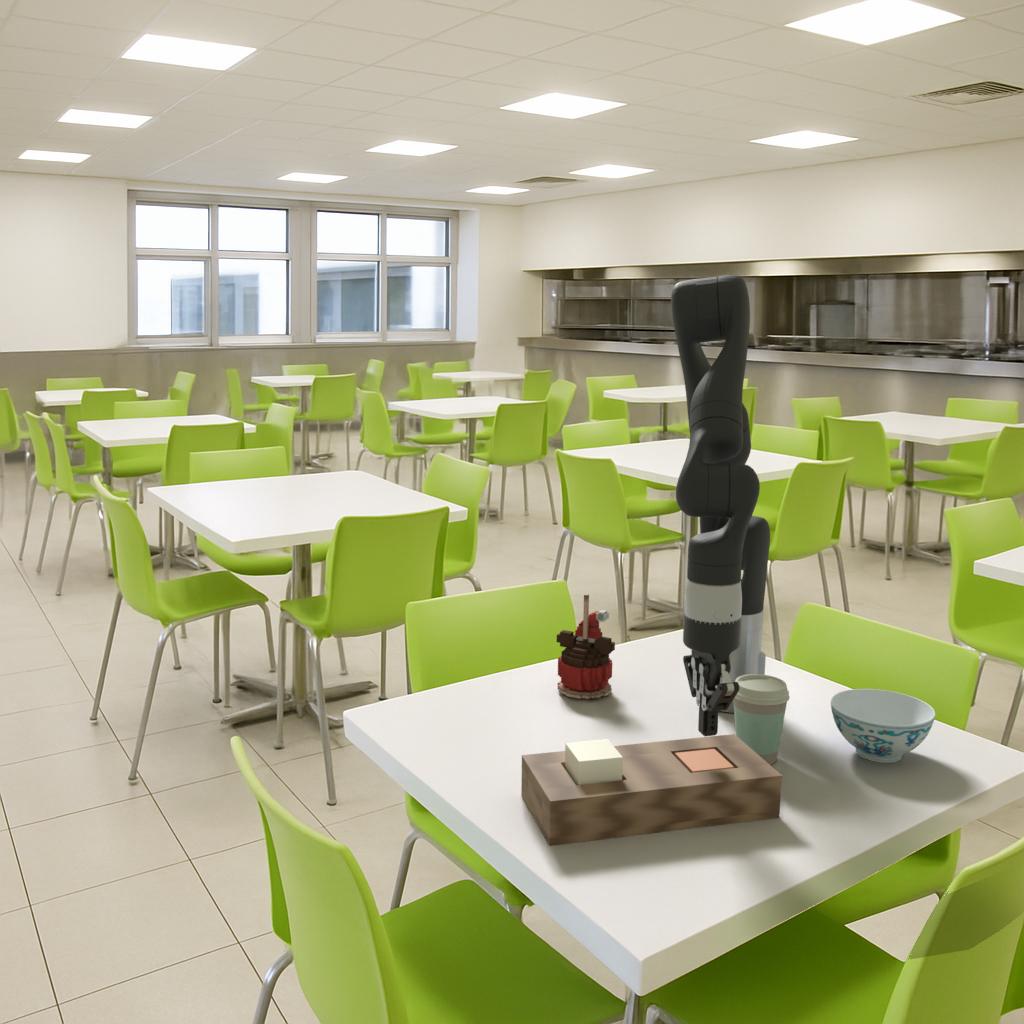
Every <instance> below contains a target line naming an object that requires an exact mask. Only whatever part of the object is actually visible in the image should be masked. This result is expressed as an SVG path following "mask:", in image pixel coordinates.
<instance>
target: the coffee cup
mask: <svg viewBox="0 0 1024 1024" xmlns="http://www.w3.org/2000/svg"><path fill="white" fill-rule="evenodd" d="M735 682H738V684H739V691H738V693H737V694H736V696H735V698H734V699H733V700H734V713H733V714H734V727H735V728H734V730H735V735H736V736H737V737H738V738H739V739H740V740H742V741H743V742H744V743H745V744H746V745H747V746H749V747H750V748H751V749H752V750H753V751H754V752H756V753H757V754H758V755H759V756H760V757H761V758H762V759H764V760H765V761H766V762H767V763H768V764H769V765H772V764H774V763H776V762H777V758H778V752H779V747H780V742H781V741H780V740H781V737H782V731H783V726H784V721H785V716H786V710H787V704H788V703H787V702H788V701H789V700H790V693H789V692H790V691H789V689H788V687H787V686H788V685H787V683H786V681H784V680H783V679H781V678H778V677H777V676H776V677H775V676H772V675H768V674H765V675H761V674H748V675H743V676H740V677H738V678H737V679H736V680H735Z"/></svg>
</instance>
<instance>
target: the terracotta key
mask: <svg viewBox="0 0 1024 1024" xmlns="http://www.w3.org/2000/svg"><path fill="white" fill-rule="evenodd" d="M675 757H676V758H677V759H678V760H679V761H680V762H681V763H682V764H683V765H684V766H685V767H686V768H687V769H688V770H689V772H690V773H694V772H704V771H713V770H722V769H731V768H734V767H733V766H732V765H731V764H730V763H729V762H728V761H727V760H726V759H725V758H724V757H723V756H722V755H721V754H720V753H718V752H717V751H716V750H715V749H708V750H698V751H689V752H679V753H675Z"/></svg>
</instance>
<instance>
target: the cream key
mask: <svg viewBox="0 0 1024 1024" xmlns="http://www.w3.org/2000/svg"><path fill="white" fill-rule="evenodd" d="M564 745H565V747H564V751H565V770H566V771H567V773H568V774H569V776H570V777H571V779H572V780H573V782H574V783H575V784H576V785H583V784H593V783H602V782H611V781H620V780H622V767H623V757H622V756H621V754H620V753H619V752H618V751H617V750H616V748H615V747H614V746H615V745H613V744H612V743H611V741H610V740H609V739H608V738H603V739H591V740H584V741H574V742H565V743H564Z"/></svg>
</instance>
